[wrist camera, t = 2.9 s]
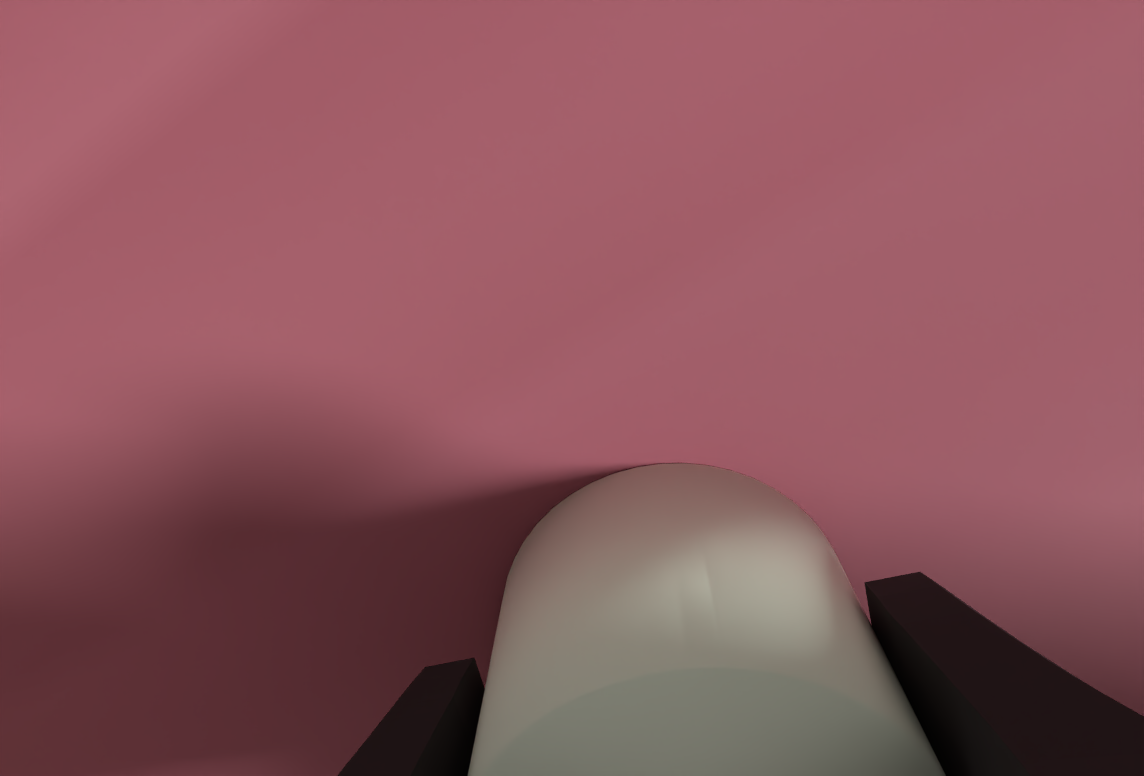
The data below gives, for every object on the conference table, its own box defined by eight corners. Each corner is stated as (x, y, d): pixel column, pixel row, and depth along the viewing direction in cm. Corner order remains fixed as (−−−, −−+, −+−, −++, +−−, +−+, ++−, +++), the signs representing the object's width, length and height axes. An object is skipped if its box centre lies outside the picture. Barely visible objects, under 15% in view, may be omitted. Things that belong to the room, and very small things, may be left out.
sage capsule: (818, 428, 11) (940, 620, 7) (871, 728, 12) (994, 1026, 8) (461, 504, 11) (385, 723, 7) (550, 784, 12) (527, 1090, 9)
